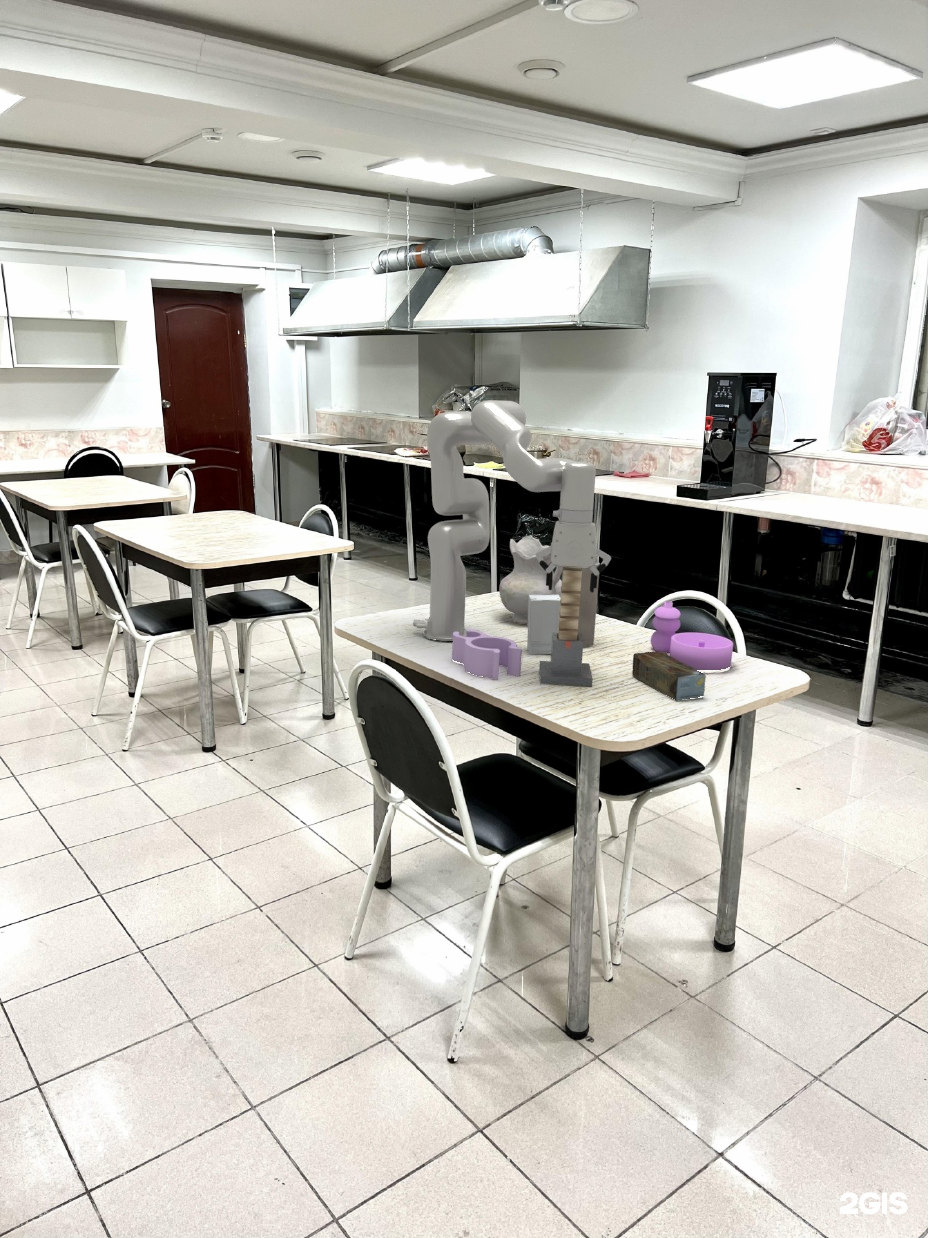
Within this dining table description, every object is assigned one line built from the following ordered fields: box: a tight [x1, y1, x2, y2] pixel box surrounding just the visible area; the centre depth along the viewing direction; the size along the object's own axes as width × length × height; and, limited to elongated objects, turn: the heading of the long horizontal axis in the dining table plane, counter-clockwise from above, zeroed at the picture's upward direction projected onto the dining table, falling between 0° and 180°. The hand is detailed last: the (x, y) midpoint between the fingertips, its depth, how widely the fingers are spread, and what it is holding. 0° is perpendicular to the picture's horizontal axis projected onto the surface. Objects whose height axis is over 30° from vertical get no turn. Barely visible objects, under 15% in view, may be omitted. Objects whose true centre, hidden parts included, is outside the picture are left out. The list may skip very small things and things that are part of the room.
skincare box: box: [526, 595, 561, 655], centre depth 236 cm, size 8×6×15 cm
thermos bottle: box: [575, 555, 601, 648], centre depth 243 cm, size 8×8×28 cm
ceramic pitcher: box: [498, 535, 563, 625], centre depth 266 cm, size 22×20×25 cm
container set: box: [650, 601, 734, 670], centre depth 235 cm, size 25×15×13 cm, turn 29°
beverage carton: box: [632, 650, 707, 702], centre depth 212 cm, size 8×19×7 cm, turn 21°
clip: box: [451, 629, 523, 681], centre depth 222 cm, size 20×12×7 cm, turn 35°
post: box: [558, 567, 582, 640], centre depth 213 cm, size 4×4×24 cm
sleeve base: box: [538, 632, 594, 688], centre depth 216 cm, size 12×12×10 cm
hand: (570, 590), depth 212 cm, fingers open, 9 cm apart
